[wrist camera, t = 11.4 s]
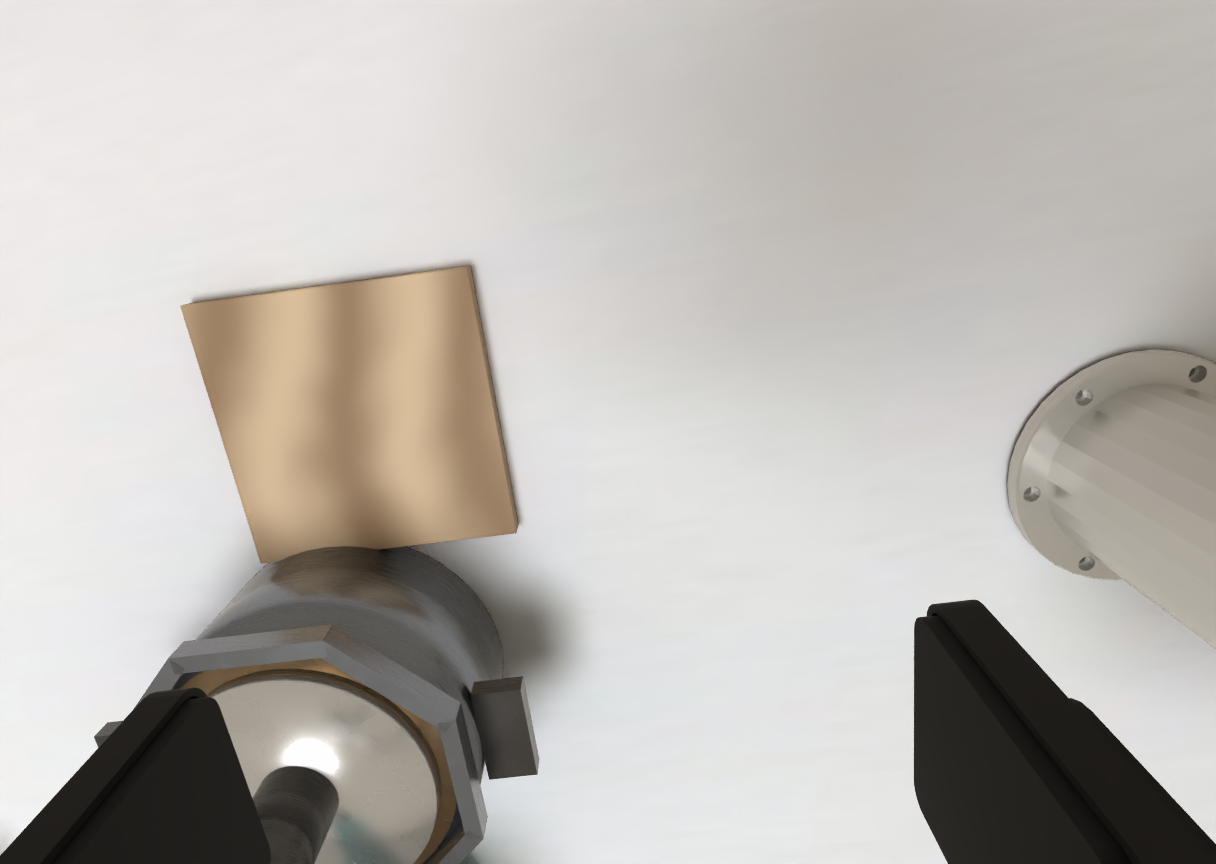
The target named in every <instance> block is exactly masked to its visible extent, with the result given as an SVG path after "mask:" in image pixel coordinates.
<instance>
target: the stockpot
mask: <svg viewBox="0 0 1216 864" xmlns="http://www.w3.org/2000/svg"><path fill="white" fill-rule="evenodd" d="M291 668H295V669H307V670H316V671H321V672H326V673H331V674H335V675H338V676H341V677H344V678H348V679H350V680H353V681H355V682H358V683H360V684H362V685H365V686H367V687H369V688H370V689H372V690H374V691H376V692H377V693H379V694H381V695H383V696H384V697H386V698H387V699H388V700H390V701H391V702H392V703H394V704H395V705H397V706H398V707H399V708H400V709H401V710H402V711H403V712H404V713H405V714H407V715H408V716H409V717H410V718H411V720H412V721H413V722H414V723H415V724H416V725H417V727H418V728H419V729H420V730H421V732H422V733H423V735H424V736H425V738H426V739H427V741H428V743H429V744H430V747H431V749H432V751H433V753H434V755H435V758H436V761H437V764H438V768H439V772H440V779H441V800H440V804H439V809H438V814H437V817H436V821H435V825H434V828H433V831H432V834H431V836H430V839H429V841H428V843H427V845H426V847H425V848H424V850H423V852H422V853H421V855H420V856H419V857H418V858H417V859H416V861H415V862H414V863H413V864H460V863H461V862H462V861H463V860H464V859H465V858H466V857H467V856H468V855H469V854H470V852H471V851H472V850H473V849H474V848H475V847H476V846H477V845H478V844H479V843H480V842H481V841H482V839H483V838H484V833H485V827H486V822H487V813H486V808H485V804H484V800H483V795H482V791H481V787H480V784H481V779H482V774H483V770H484V765H485V763H486V767H487V772H488V776H489V779H499V778H508V777H517V776H527V775H536V774H537V773H538V765H539V756H538V751H537V746H536V741H535V736H534V731H533V726H532V720H531V715H530V710H529V705H528V700H527V695H526V690H525V685H524V680H523V676H522V677H513V678H504V679H503V655H502V648H501V643H500V640H499V636H498V633H497V630H496V628H495V625H494V623H493V621H492V619H491V616H490V615H489V613H488V611H487V610H486V608H485V607H484V605H483V603H482V602H481V600H480V599H479V598H478V597H477V596H476V594H475V593H474V592H473V591H472V590H471V588H470V587H469V586H468V585H467V584H465V583H464V582H463V581H462V580H461V579H460V578H459V577H458V576H457V575H456V574H454V573H453V572H452V571H450V570H449V569H447V568H446V567H445V566H443V565H442V564H440V563H439V562H437V561H435V560H433V559H432V558H430V557H428V556H426V555H424V554H422V553H419V552H417V551H415V550H412V549H410V548H408V547H395V548H387V549H372V548H366V547H352V546H338V547H324V548H319V549H313V550H308V551H304V552H301V553H298V554H295V555H292V556H289V557H287V558H285V559H283V560H281V561H277V562H270V563H268V564H267V565H266V566H265V567H264V568H263V569H261V570H260V571H259V572H258V573H257V574H256V575H255V576H254V577H253V578H252V579H251V580H250V581H249V582H248V583H247V584H246V586H245V587H244V588H243V589H242V590H241V591H240V592H239V593H238V594H237V595H236V597H235V598H234V599H233V600H232V601H231V602H230V603H229V604H228V605H227V606H226V607H225V609H224V610H223V611H222V612H221V613H220V614H219V615H218V616H217V617H216V618H215V619H214V621H213V622H212V623H211V624H210V625H209V626H208V627H207V628H206V629H205V630H204V632H203V633H202V634H201V635H200V636H199V637H198V638H197V639H196V640H193V641H185V642H183V643H182V644H181V645H180V647H179V648H178V649H177V650H176V651H175V652H174V653H173V654H172V655H171V656H170V657H169V658H168V660H167V661H166V663H165V664H164V665H163V667H162V668H161V670H160V671H159V673H158V674H157V676H156V677H155V679H154V680H153V682H152V683H151V685H150V686H149V687H148V689H147V690H146V692H145V693H144V695H143V696H142V698H141V699H140V701H139V702H138V704H139V703H140V702H141V701H142V700H143V699H144V698H145V697H146V696H148V695H149V694H151V693H154V692H158V691H167V690H176V689H185V688H194V687H195V688H199V689H201V690H202V691H203V692H205V694H208V693H209V692H210V691H211V690H213V689H215V688H217V687H218V686H220V685H222V684H223V683H225V682H228V681H230V680H232V679H235V678H237V677H240V676H243V675H247V674H250V673H254V672H258V671H265V670H272V669H291ZM138 704H137V705H138ZM137 705H136V706H137ZM135 708H136V707H135ZM135 708H134V709H135ZM134 709H133V710H134ZM122 722H123V721H118V722H109V723H107V724H106V725H105V726H104V727H103V728H102V729H101V730H100V731H99V732H98V733H97V734H96V735H95V736H94V738H95V741H96V743H97V745H98V748H99V747H100V746H101V745H102V744H103V743H104V742H105V740H106V739H107V738H108V737H109V736H110V735H111V734H112V733H113V732H114V731H115V729H116V728H117V727H118V726H119V725H120V724H121V723H122Z"/></svg>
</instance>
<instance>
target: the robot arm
mask: <svg viewBox="0 0 1216 864" xmlns="http://www.w3.org/2000/svg"><path fill="white" fill-rule="evenodd" d="M1007 487H1008V497H1009V506H1010V508H1011V511H1012V514H1013V517H1014V520H1015V523H1016V525H1017V526H1018V528H1019V530H1020V531H1021V533H1022V534H1023V536H1024V537H1025V539H1026V540H1027V541H1028V542H1029V543H1030V544H1031V545H1032V546H1033V547H1034V548H1035V549H1036V550H1037V551H1038V552H1039V553H1041V554H1042V555H1043V556H1044V557H1046V558H1047V559H1048V560H1050V561H1051V562H1052V563H1054V564H1055V565H1057V566H1059V567H1061V568H1063V569H1065V570H1067V571H1069V572H1071V573H1073V574H1077V575H1081V576H1085V577H1089V578H1093V579H1109V580H1119V579H1124V580H1125V581H1126V582H1128V583H1129V584H1130V585H1132V586H1133V587H1134V588H1136V589H1137V590H1138V591H1140V592H1141V593H1142V594H1144V595H1145V596H1146V597H1148V598H1149V599H1150V600H1152V601H1153V602H1154V603H1156V604H1157V605H1158V606H1159V607H1161V608H1162V609H1163V610H1165V611H1166V612H1167V613H1169V614H1170V615H1171V616H1173V617H1174V618H1175V619H1177V620H1178V621H1179V622H1181V623H1182V624H1183V625H1185V626H1186V627H1187V628H1189V629H1190V630H1191V631H1193V632H1194V633H1195V634H1197V635H1198V636H1199V637H1201V638H1202V639H1203V640H1205V641H1206V642H1207V643H1209V644H1210V645H1211V646H1213V647H1214V648H1215V649H1216V363H1214V362H1211V361H1209V360H1206V359H1204V358H1201V357H1198V356H1194V355H1191V354H1187V353H1183V352H1179V351H1170V350H1156V349H1151V350H1143V351H1134V352H1128V353H1124V354H1121V355H1117V356H1114V357H1111V358H1107V359H1104V360H1102V361H1100V362H1098V363H1096V364H1094V365H1092V366H1090V367H1088V368H1086V369H1083V370H1081V371H1080V372H1078V373H1077V374H1076V375H1074V376H1073V377H1071V378H1070V379H1068V380H1067V381H1065V382H1064V383H1063V384H1061V385H1060V386H1059V387H1058V388H1057V389H1056V390H1055V391H1054V392H1052V393H1051V394H1050V395H1049V396H1048V397H1047V398H1046V399H1045V400H1044V401H1043V402H1042V403H1041V404H1040V406H1039V407H1038V408H1037V410H1036V411H1035V412H1034V414H1033V415H1032V416H1031V418H1030V419H1029V420H1028V422H1027V423H1026V425H1025V427H1024V429H1023V431H1022V433H1021V435H1020V437H1019V439H1018V440H1017V442H1016V445H1015V448H1014V452H1013V455H1012V458H1011V461H1010V465H1009V474H1008V483H1007ZM914 786H915V792H916V796H917V800H918V803H919V806H920V809H921V811H922V813H923V815H924V817H925V819H926V821H927V823H928V825H929V827H930V829H931V831H932V833H933V835H934V837H935V839H936V841H937V843H938V845H939V847H940V849H941V851H942V853H943V855H944V857H945V859H946V861H947V862H948V864H1216V844H1215V843H1214V842H1213V841H1212V840H1211V839H1210V838H1209V836H1208V835H1207V834H1206V833H1205V832H1204V831H1203V830H1202V829H1201V828H1200V827H1199V826H1198V825H1197V824H1196V823H1195V821H1194V820H1193V819H1192V818H1191V817H1190V816H1189V815H1188V814H1187V813H1186V812H1185V811H1184V810H1183V809H1182V808H1181V806H1180V805H1179V804H1178V803H1177V802H1176V801H1175V800H1174V799H1173V798H1172V797H1171V796H1170V795H1169V794H1168V793H1167V791H1166V790H1165V789H1164V788H1163V787H1162V786H1161V785H1160V784H1159V783H1158V782H1157V781H1156V780H1155V779H1154V777H1153V776H1152V775H1151V774H1150V773H1149V772H1148V771H1147V770H1146V769H1145V768H1144V767H1143V766H1142V765H1141V764H1140V762H1139V761H1138V760H1137V759H1136V758H1135V757H1134V756H1133V755H1132V754H1131V753H1130V752H1129V751H1128V750H1127V749H1126V747H1125V746H1124V745H1123V744H1122V743H1121V742H1120V741H1119V740H1118V739H1117V738H1116V737H1115V736H1114V735H1113V734H1112V732H1111V731H1110V730H1109V729H1108V728H1107V727H1106V726H1105V725H1104V724H1103V723H1102V722H1101V721H1100V720H1099V719H1098V717H1097V716H1096V715H1095V714H1094V713H1093V712H1092V711H1091V710H1090V709H1089V708H1087V707H1086V706H1085V705H1084V704H1083V703H1082V702H1080V701H1077V700H1074V699H1072V698H1068V697H1067V696H1066V695H1065V694H1064V693H1063V692H1062V690H1061V689H1060V688H1059V687H1058V686H1057V685H1056V684H1055V683H1054V682H1053V681H1052V680H1051V678H1050V677H1049V676H1048V675H1047V674H1046V673H1045V672H1044V671H1043V670H1042V669H1041V667H1040V666H1039V665H1038V664H1037V663H1036V662H1035V661H1034V660H1033V659H1032V658H1031V656H1030V655H1029V654H1028V653H1027V652H1026V651H1025V650H1024V649H1023V648H1022V647H1021V645H1020V644H1019V643H1018V642H1017V641H1016V640H1015V639H1014V638H1013V637H1012V636H1011V634H1010V633H1009V632H1008V631H1007V630H1006V629H1005V628H1004V627H1003V626H1002V625H1001V624H1000V622H999V621H998V620H997V619H996V618H995V617H994V616H993V615H992V614H991V613H990V611H989V610H988V609H987V608H986V607H985V606H984V605H983V604H982V603H981V602H979V601H978V600H966V601H958V602H949V603H940V604H932V605H931V606H929V608H928V611H927V617H918V618H917V619H916V621H915V627H914ZM270 863H271V851H270V846H269V843H268V840H267V838H266V835H265V832H264V829H263V827H262V824H261V821H260V818H259V815H258V813H257V810H256V807H255V804H254V801H253V799H252V796H251V793H250V790H249V787H248V785H247V782H246V779H245V776H244V773H243V771H242V768H241V765H240V762H239V759H238V757H237V754H236V751H235V748H234V746H233V743H232V740H231V737H230V734H229V732H228V729H227V726H226V723H225V720H224V718H223V715H222V712H221V709H220V706H219V704H218V703H217V701H216V700H215V699H214V698H211V697H207V695H206V694H205V692H203V691H202V690H201V689H199V688H195V687H194V688H185V689H176V690H167V691H158V692H154V693H151V694H149V695H148V696H146V697H145V698H144V699H143V700H142V701H141V702H140V703H139V704H138V705H137V706H136V708H135V709H134V710H133V711H132V712H131V713H130V714H129V715H128V716H127V717H126V718H125V720H124V721H123V722H122V723H121V724H120V725H119V726H118V727H117V728H116V729H115V731H114V732H113V733H112V734H111V735H110V736H109V737H108V738H107V739H106V740H105V742H104V743H103V744H102V745H101V746H100V747H99V748H98V749H97V750H96V751H95V752H94V754H93V755H92V756H91V757H90V758H89V759H88V760H87V761H86V762H85V763H84V765H83V766H82V767H81V768H80V769H79V770H78V771H77V772H76V773H75V774H74V776H73V777H72V778H71V779H70V780H69V781H68V782H67V783H66V784H65V785H64V786H63V788H62V789H61V790H60V791H59V792H58V793H57V794H56V795H55V796H54V797H53V799H52V800H51V801H50V802H49V803H48V804H47V805H46V806H45V807H44V808H43V810H42V811H41V812H40V813H39V814H38V815H37V816H36V817H35V818H34V819H33V820H32V822H31V823H30V824H29V825H28V826H27V827H26V828H25V829H24V830H23V831H22V833H21V834H20V835H19V836H18V837H17V838H16V839H15V840H14V841H13V842H12V844H11V845H10V846H9V847H8V848H7V849H6V850H5V851H4V852H3V853H2V854H1V856H0V864H270Z"/></svg>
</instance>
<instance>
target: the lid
mask: <svg viewBox="0 0 1216 864" xmlns="http://www.w3.org/2000/svg"><path fill="white" fill-rule="evenodd" d="M206 695H207V697H211V698H214V699H215V700H216V701H217V703H218V704H219V706H220V709H221V712H222V715H223V718H224V720H225V723H226V726H227V729H228V732H229V734H230V737H231V740H232V743H233V746H234V748H235V751H236V754H237V757H238V759H239V762H240V765H241V768H242V771H243V773H244V776H245V779H246V782H247V785H248V787H249V790H250V793H251V796H252V799H253V801H254V804H255V807H256V810H257V813H258V815H259V818H260V821H261V824H262V827H263V829H264V832H265V835H266V838H267V840H268V843H269V846H270V851H271V863H270V864H413V863H414V862H415V861H416V859H417V858H418V857H419V856H420V855H421V853H422V852H423V850H424V848H425V847H426V845H427V843H428V841H429V839H430V836H431V834H432V831H433V828H434V825H435V821H436V817H437V814H438V809H439V804H440V800H441V779H440V772H439V768H438V764H437V761H436V758H435V755H434V753H433V751H432V749H431V747H430V744H429V743H428V741H427V739H426V738H425V736H424V735H423V733H422V732H421V730H420V729H419V728H418V727H417V725H416V724H415V723H414V722H413V721H412V720H411V718H410V717H409V716H408V715H407V714H405V713H404V712H403V711H402V710H401V709H400V708H399V707H398V706H397V705H395V704H394V703H392V702H391V701H390V700H388V699H387V698H386V697H384V696H383V695H381V694H379V693H377V692H376V691H374V690H372V689H370V688H369V687H367V686H365V685H362V684H360V683H358V682H355V681H353V680H350V679H348V678H344V677H341V676H338V675H335V674H331V673H326V672H321V671H316V670H307V669H295V668H291V669H272V670H265V671H258V672H254V673H250V674H247V675H243V676H240V677H237V678H235V679H232V680H230V681H228V682H225V683H223V684H222V685H220V686H218V687H217V688H215V689H213V690H211V691H210V692H209V693H208V694H206Z"/></svg>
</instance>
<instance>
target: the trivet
mask: <svg viewBox="0 0 1216 864" xmlns="http://www.w3.org/2000/svg"><path fill="white" fill-rule="evenodd" d="M180 307H181V310H182V313H183V316H184V319H185V322H186V326H187V329H188V332H189V335H190V338H191V342H192V345H193V348H194V351H195V354H196V358H197V361H198V364H199V367H200V370H201V374H202V377H203V380H204V383H205V386H206V390H207V393H208V396H209V399H210V402H211V406H212V409H213V412H214V415H215V418H216V421H217V425H218V428H219V431H220V434H221V437H222V441H223V444H224V447H225V450H226V453H227V457H228V460H229V463H230V466H231V469H232V473H233V476H234V479H235V482H236V485H237V489H238V492H239V495H240V498H241V501H242V505H243V508H244V511H245V514H246V517H247V520H248V524H249V527H250V530H251V533H252V536H253V540H254V543H255V546H256V549H257V552H258V556H259V559H260V562H261V563H269V562H277V561H281V560H283V559H285V558H287V557H289V556H292V555H295V554H298V553H301V552H304V551H308V550H313V549H319V548H324V547H338V546H352V547H366V548H372V549H387V548H395V547H404V546H412V545H420V544H429V543H437V542H446V541H454V540H462V539H471V538H479V537H488V536H496V535H504V534H513V533H516V532H517V528H518V520H517V515H516V509H515V504H514V498H513V493H512V488H511V482H510V477H509V471H508V466H507V461H506V455H505V450H504V444H503V439H502V434H501V428H500V423H499V417H498V412H497V407H496V401H495V396H494V390H493V385H492V380H491V374H490V369H489V363H488V358H487V353H486V347H485V342H484V336H483V331H482V326H481V320H480V315H479V309H478V304H477V299H476V293H475V288H474V282H473V277H472V272H471V266H464V267H457V268H449V269H442V270H434V271H427V272H419V273H412V274H404V275H397V276H389V277H382V278H374V279H367V280H359V281H352V282H344V283H337V284H329V285H322V286H314V287H307V288H299V289H292V290H284V291H277V292H269V293H262V294H254V295H247V296H240V297H232V298H225V299H217V300H210V301H202V302H195V303H189V304H186V305H182V306H180Z"/></svg>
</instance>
